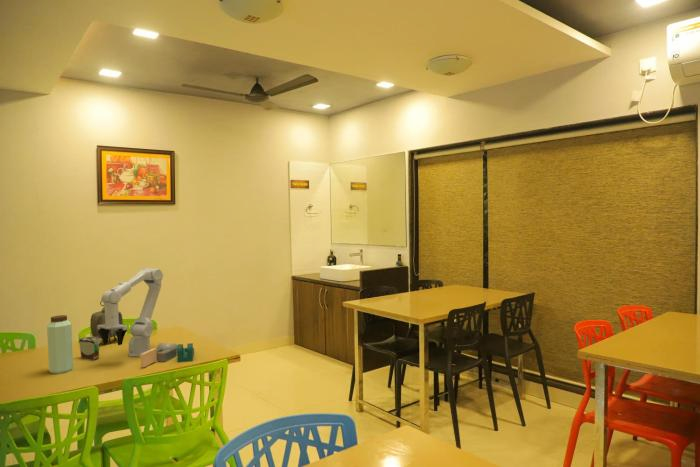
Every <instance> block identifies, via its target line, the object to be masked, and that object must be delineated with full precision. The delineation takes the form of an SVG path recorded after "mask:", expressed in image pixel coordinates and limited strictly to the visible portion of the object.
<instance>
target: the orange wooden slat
mask: <svg viewBox="0 0 700 467" xmlns="http://www.w3.org/2000/svg"><path fill="white" fill-rule="evenodd" d="M156 348H157V347H156ZM156 348H155V347H154V348H150V350H148V351H146V352H144V353H142V354H140V357H139V358H140V368H145V367H148V366H149V365H152V364H154V363H155V362H157V351H156Z"/></svg>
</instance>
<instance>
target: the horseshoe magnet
mask: <svg viewBox="0 0 700 467" xmlns="http://www.w3.org/2000/svg"><path fill="white" fill-rule="evenodd" d="M177 345H178V344H177V343H168V342H167V343H164V342H163V343H162V342H161V343H158V344H157V347H156V351H157V361H156V362H158V363H166V362H168V361H169V360H172V359H174V358H175V357H177Z"/></svg>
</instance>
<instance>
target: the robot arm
mask: <svg viewBox="0 0 700 467" xmlns="http://www.w3.org/2000/svg"><path fill="white" fill-rule="evenodd" d="M163 278H164V273H163V272H162V270H161V269H160V268H157V267H156V268H147V267H144V268H142V269H140V270H139V271H138V273H136V274H135V275H134V276H132V277H131V278H130V279H129V280H127V281H119V282H118V285H116V286H115V287H112V288H110V290H106V291H104V292H103V294H102V296H101V297H100V299H101V300H100V301H102V303H103V305H104V306H103V307H105V325H98V329H100V331H98V333H99V334H100V336H101V338H102V339H101V340H102V342H103V343H102V344H103V345H104V346H106V345H108V344H109V338H108V335H109V330H110V329H113V330H118V331H115V333H116V335H117V336H116V338H117V339H116V341H117V345H118V346H122V345H123V340H124V339H125V335H126V332H128V325H127V324H123V325H121V324H119V314H118V311H119V302H120V301H121V299H122V298H123V297H124V296H125V295H127V294H128V293H130V292H131V290H132V288H133V287H135V286H136V285H138V284H140V283H141V282H144V283H145V284H146V285H147V286H148V289H147V293H146V296H145V298H144V302H143V305H142V308H141V310H140V314H139V316H138V317H137V318H136V319H135V320H134V322H133V324H131V327H130V330H129V332H130V334H131V335H132V337H130V338H129V340H128V357H139V358H140V354H142V353H144V352H146V351H148V350H151V343H150V341H151V339H150V338H151V336H152V334H153V332H154V329H153V326H154V322H153V321H152V316H153V313H154V310H155V306H156V304H157V302H158V298H159V295H160V292H161V289H162V280H163Z"/></svg>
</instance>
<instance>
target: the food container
mask: <svg viewBox="0 0 700 467" xmlns="http://www.w3.org/2000/svg"><path fill="white" fill-rule="evenodd" d="M101 340H102V339H100V338H99V337H93V336H84V337H81V338H78V343H79V352H80V359H82V360H88V361H96V360H98V359H99V356H100V343H101V342H102V341H101Z"/></svg>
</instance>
